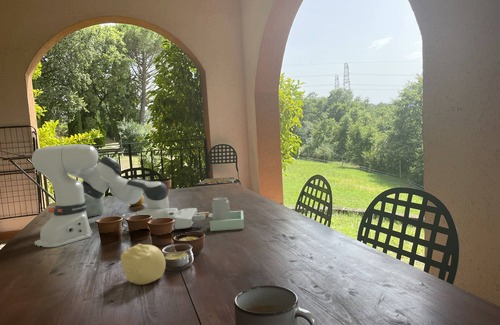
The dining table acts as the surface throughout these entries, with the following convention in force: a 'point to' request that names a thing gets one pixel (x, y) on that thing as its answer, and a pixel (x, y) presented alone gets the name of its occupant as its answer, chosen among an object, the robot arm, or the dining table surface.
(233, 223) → the frame
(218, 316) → the dining table surface
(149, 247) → the pomelo
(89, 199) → the planter
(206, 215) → the scraper
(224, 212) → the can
